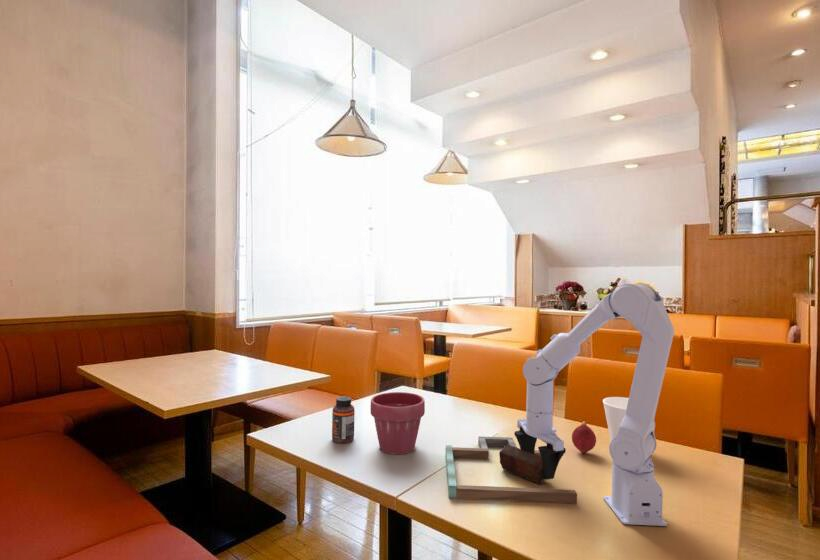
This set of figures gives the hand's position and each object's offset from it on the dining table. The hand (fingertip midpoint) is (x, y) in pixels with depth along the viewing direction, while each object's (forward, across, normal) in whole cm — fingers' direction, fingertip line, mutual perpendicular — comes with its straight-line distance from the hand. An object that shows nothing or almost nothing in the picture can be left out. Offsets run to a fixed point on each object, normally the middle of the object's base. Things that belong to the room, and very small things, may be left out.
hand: (538, 470), depth 98 cm
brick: (+2, +2, +2) cm, 3 cm away
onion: (+2, +8, -20) cm, 21 cm away
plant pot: (+2, +25, +25) cm, 36 cm away
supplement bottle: (+2, +34, +38) cm, 51 cm away
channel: (+2, +6, +6) cm, 9 cm away
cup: (+2, +7, -32) cm, 33 cm away
